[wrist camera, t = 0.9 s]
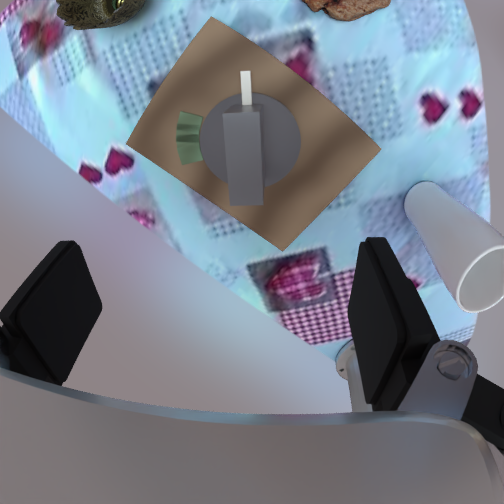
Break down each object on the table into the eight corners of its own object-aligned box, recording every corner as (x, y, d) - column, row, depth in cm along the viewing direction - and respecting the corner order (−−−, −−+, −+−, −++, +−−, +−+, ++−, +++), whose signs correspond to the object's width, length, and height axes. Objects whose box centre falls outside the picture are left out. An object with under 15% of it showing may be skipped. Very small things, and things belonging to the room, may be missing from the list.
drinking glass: (394, 229, 34) (446, 320, 21) (397, 174, 30) (466, 249, 18) (443, 225, 33) (506, 307, 20) (449, 172, 29) (529, 241, 17)
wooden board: (375, 144, 29) (382, 149, 27) (282, 241, 36) (282, 252, 34) (215, 19, 23) (210, 16, 21) (133, 139, 30) (124, 144, 28)
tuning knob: (299, 184, 29) (306, 216, 24) (206, 186, 30) (190, 218, 24) (298, 70, 24) (307, 68, 18) (196, 75, 24) (172, 77, 18)
